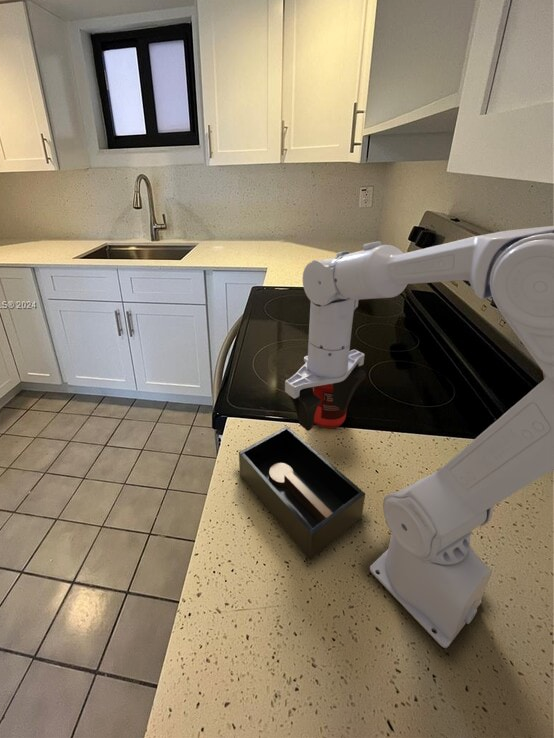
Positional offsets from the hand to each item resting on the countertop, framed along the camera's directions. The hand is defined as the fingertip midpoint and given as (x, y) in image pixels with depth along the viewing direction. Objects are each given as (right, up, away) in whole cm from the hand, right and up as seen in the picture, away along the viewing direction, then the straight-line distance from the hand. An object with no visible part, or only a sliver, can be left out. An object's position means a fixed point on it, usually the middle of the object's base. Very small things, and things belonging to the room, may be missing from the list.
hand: (323, 416), depth 55 cm
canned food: (+5, -5, +15) cm, 17 cm away
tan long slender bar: (-4, -12, -1) cm, 12 cm away
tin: (-4, -12, -1) cm, 13 cm away
